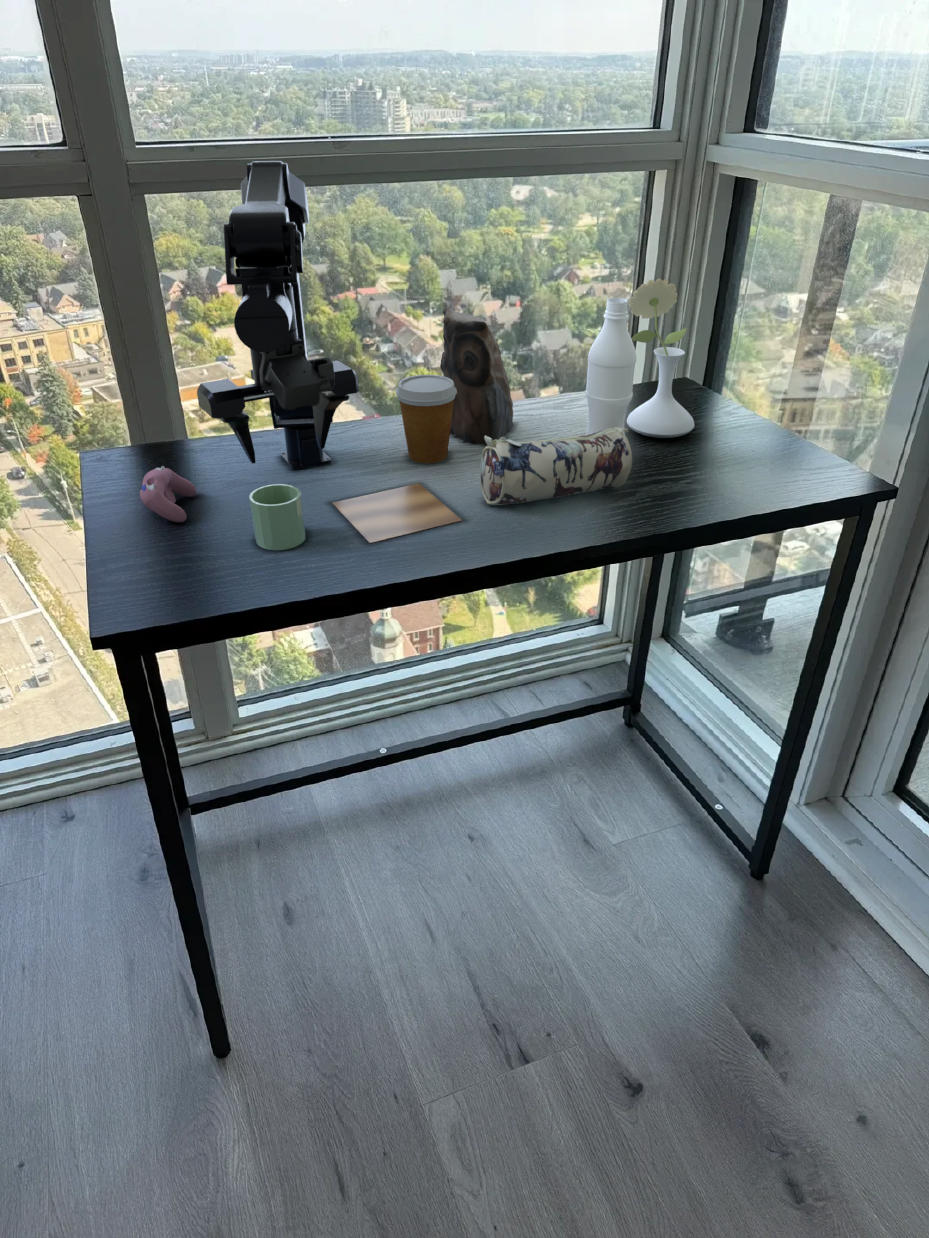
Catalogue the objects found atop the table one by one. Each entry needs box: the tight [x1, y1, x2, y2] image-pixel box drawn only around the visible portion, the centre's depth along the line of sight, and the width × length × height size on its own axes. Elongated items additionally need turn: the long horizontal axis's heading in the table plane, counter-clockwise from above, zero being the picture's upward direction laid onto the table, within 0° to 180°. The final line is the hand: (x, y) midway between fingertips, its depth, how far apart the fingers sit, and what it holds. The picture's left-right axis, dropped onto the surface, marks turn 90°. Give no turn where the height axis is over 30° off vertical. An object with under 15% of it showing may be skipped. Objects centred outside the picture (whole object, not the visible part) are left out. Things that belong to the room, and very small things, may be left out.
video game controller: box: [139, 465, 198, 523], centre depth 122 cm, size 10×5×7 cm, turn 5°
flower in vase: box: [626, 278, 695, 439], centre depth 142 cm, size 13×11×25 cm
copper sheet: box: [331, 482, 463, 544], centre depth 123 cm, size 14×14×1 cm
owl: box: [439, 306, 514, 447], centre depth 143 cm, size 13×13×20 cm
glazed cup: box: [248, 483, 307, 551], centre depth 114 cm, size 7×7×6 cm
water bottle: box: [584, 297, 637, 436], centre depth 130 cm, size 7×7×25 cm
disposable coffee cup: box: [395, 374, 457, 464], centre depth 136 cm, size 10×10×12 cm
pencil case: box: [479, 427, 633, 506], centre depth 125 cm, size 22×8×10 cm, turn 108°
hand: (287, 455), depth 109 cm, fingers open, 9 cm apart
